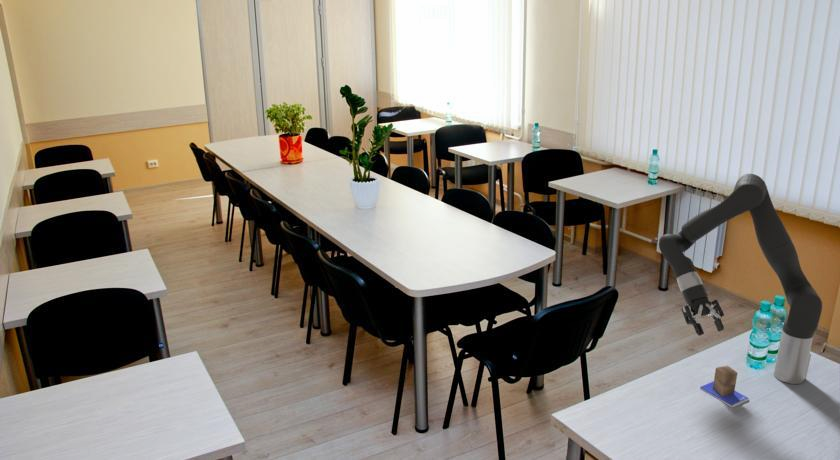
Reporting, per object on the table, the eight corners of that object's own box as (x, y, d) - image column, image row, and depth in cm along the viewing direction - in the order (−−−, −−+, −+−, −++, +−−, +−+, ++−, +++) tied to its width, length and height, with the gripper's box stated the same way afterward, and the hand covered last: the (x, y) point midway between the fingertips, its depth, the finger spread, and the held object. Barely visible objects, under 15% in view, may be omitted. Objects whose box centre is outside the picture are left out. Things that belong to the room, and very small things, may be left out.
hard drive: (749, 397, 224) (716, 379, 234) (732, 404, 220) (700, 386, 230) (748, 401, 224) (715, 383, 234) (731, 409, 220) (699, 390, 230)
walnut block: (724, 386, 230) (727, 365, 227) (733, 394, 225) (737, 372, 223) (712, 388, 228) (716, 367, 226) (721, 396, 224) (725, 375, 222)
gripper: (682, 286, 229) (702, 333, 223) (715, 280, 234) (735, 325, 228) (668, 294, 235) (687, 339, 229) (701, 288, 240) (720, 332, 235)
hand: (711, 332), depth 229 cm, fingers open, 8 cm apart
